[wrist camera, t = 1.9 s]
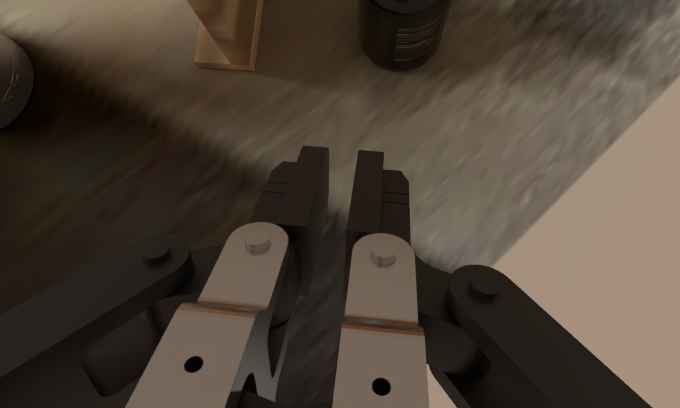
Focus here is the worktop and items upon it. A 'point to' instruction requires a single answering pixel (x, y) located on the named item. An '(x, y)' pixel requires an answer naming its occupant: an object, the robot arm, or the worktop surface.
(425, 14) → the supplement bottle
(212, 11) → the oak screen
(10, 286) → the worktop surface
